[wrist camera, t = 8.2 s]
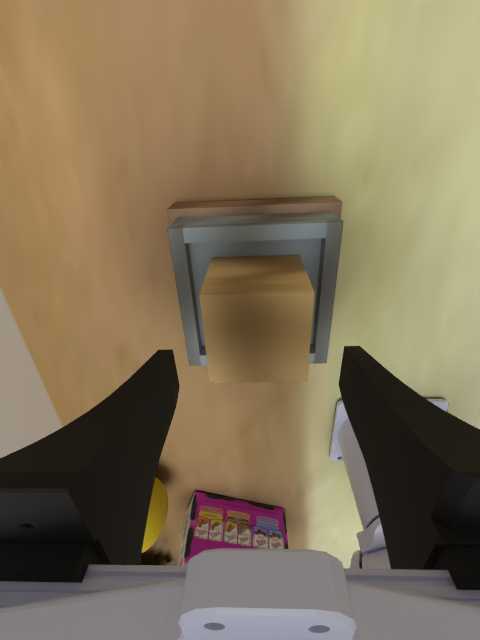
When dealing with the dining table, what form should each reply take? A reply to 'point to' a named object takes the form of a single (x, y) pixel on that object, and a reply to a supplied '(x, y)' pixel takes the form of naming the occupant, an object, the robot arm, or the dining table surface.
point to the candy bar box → (230, 526)
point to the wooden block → (257, 318)
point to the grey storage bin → (256, 253)
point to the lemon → (155, 514)
